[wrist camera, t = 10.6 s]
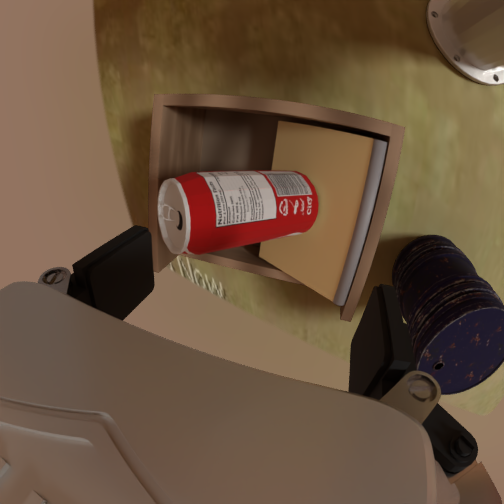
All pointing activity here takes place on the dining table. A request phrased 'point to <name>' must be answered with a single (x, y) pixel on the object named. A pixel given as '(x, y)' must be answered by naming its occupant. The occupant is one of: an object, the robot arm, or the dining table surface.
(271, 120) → the open wooden box
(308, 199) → the soda can
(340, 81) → the dining table surface
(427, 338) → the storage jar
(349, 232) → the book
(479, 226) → the dining table surface
